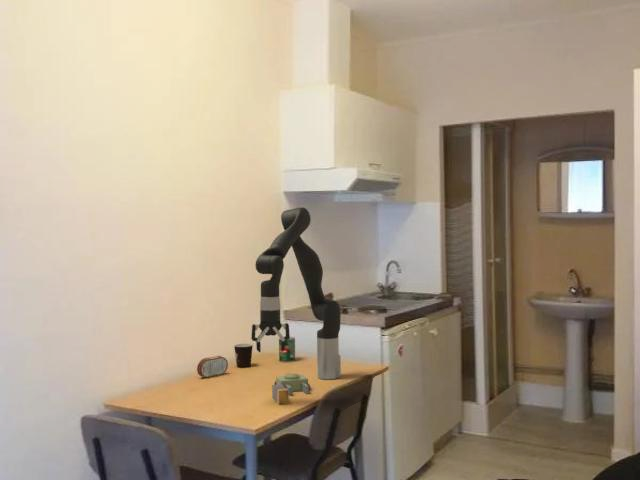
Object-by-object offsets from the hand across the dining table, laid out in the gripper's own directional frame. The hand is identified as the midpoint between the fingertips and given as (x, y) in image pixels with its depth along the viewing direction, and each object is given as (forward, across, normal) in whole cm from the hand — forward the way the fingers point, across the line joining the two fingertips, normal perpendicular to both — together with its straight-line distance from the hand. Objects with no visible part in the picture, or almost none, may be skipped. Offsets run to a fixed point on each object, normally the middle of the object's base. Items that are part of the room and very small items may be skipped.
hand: (270, 351), depth 253 cm
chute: (+18, -3, +3) cm, 19 cm away
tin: (+18, +21, -46) cm, 54 cm away
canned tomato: (+18, -15, -71) cm, 75 cm away
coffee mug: (+18, +7, -64) cm, 67 cm away
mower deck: (+18, -10, -11) cm, 23 cm away
